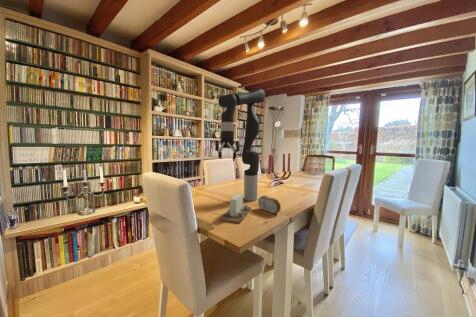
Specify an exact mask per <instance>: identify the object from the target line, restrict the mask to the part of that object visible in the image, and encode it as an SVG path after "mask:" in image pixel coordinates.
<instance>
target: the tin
mask: <svg viewBox="0 0 476 317" xmlns="http://www.w3.org/2000/svg"><path fill="white" fill-rule="evenodd" d="M257 203H258V207H259V208H260V209H261V210H262V211H264V212H268V213H270V214H274V215H275V214H278V213H279V212H280V211H281V208H282V207H281V203H280V201H278V199H276V198H273V197H270V196H267V195H262V196H260V197H259V198H257Z"/></svg>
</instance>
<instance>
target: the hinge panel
mask: <svg viewBox="0 0 476 317" xmlns="http://www.w3.org/2000/svg"><path fill="white" fill-rule="evenodd" d="M251 210H252V206H248V204H243V209H242V211H238V212H237V216H236V217H235V216H230V208H228V209H227V210H226V212H224V214H222V215H221V217H219V222H220V221H221V222H226V223H234V224H241V223H242V222H243V221H244V220H245V219H246V217H247V216H248V214H249V213H250V212H251Z"/></svg>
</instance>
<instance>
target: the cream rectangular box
mask: <svg viewBox="0 0 476 317" xmlns="http://www.w3.org/2000/svg"><path fill="white" fill-rule="evenodd" d="M243 206H244V193H239V192H237V193H235V194H234V195H233V196H232V197H231V198H229V209H230V216H235V217H236V216H237V212H238V211H242V209H243Z"/></svg>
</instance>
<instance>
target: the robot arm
mask: <svg viewBox="0 0 476 317" xmlns="http://www.w3.org/2000/svg"><path fill="white" fill-rule="evenodd" d="M265 100H266V92H265V90H263V89H262V88H256V89H251V90H248V92H237V93H229V94H223V95H221V96H219V98H218V100H217V103H218V105H219V106H220V107H221V108H223V109H226V110H225V111H224V110H223V111H222V112H221V114H220V116H221V118H220V140H215V145H214V146H215V147H214V151H216V152H218V154H217V156H218V158H219V159H220V160H221V159H222V157H223V156H222V155H223V154H222V151H223V150H224V149H231V150H232V159H233V160H236V159H237V153H238V152H240V151H241V149H240V146H241V145H240V141H239V140H235V125H234V120H235V119H234V116H235V111H236V108H237V107H238V106H242V105H246V108H247V109H246V121H245V132H244V133H245V134H244V142H243V148H242V152H241V153H242V154H241V161H242V163H243V164H244V165H247V166H248V165H249V168H248V169H245V170H244V171H243V173H244V174H243V201H247V202H254V201H258V172H259V168H260V155H259V152H257V151H253V150H252V146H253V144H254V142H255V140H256V138H257V137H258V135H259V133H260V132H259V131H260V119H259V118H258V116H257V113H256V111H255V104H262V103H263V102H264V101H265ZM234 144H235V146H236V147H235V146H234Z"/></svg>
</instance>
